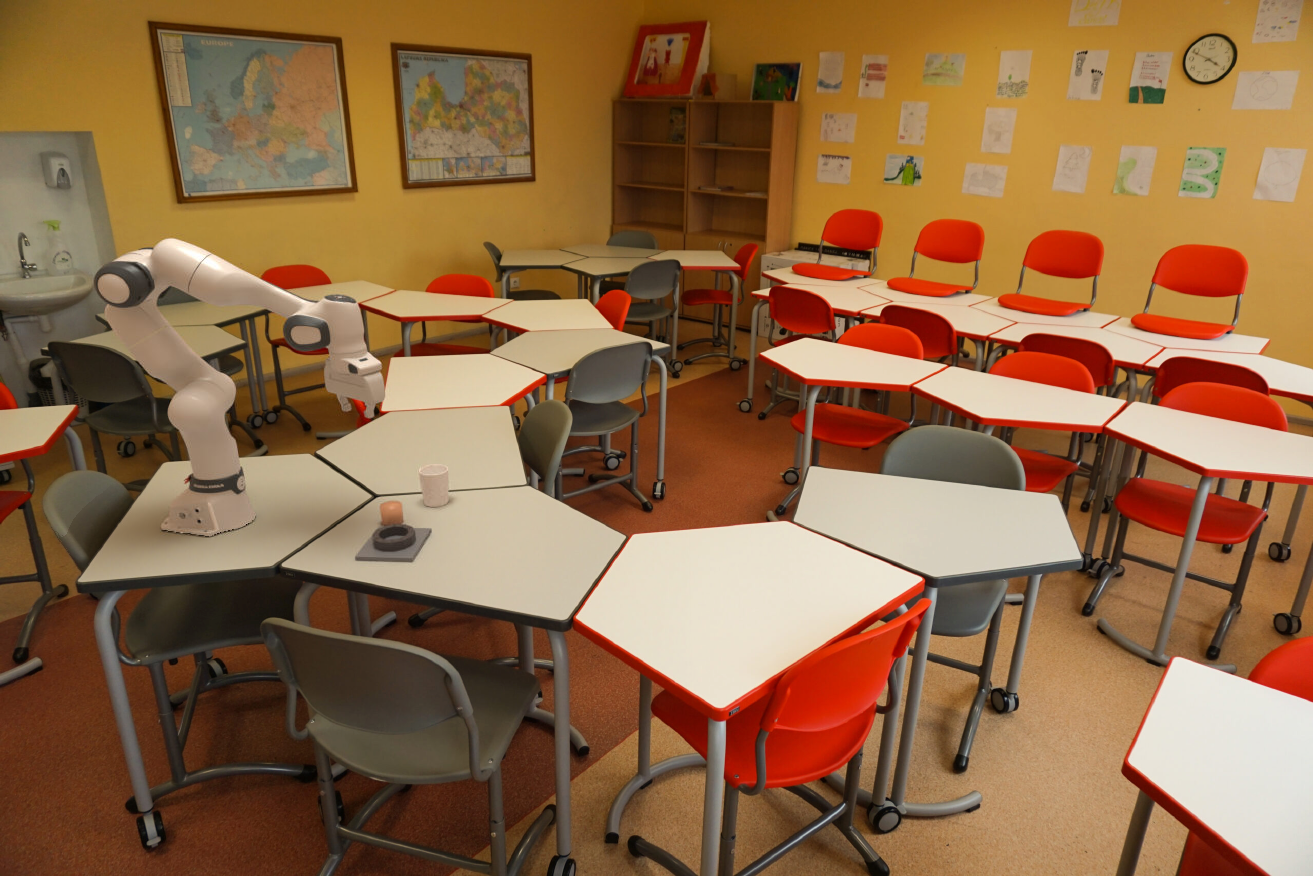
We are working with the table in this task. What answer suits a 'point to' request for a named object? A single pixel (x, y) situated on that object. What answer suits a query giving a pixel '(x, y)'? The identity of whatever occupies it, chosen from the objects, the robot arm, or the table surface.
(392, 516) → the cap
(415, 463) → the table surface
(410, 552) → the square flange plate
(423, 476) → the white cup
